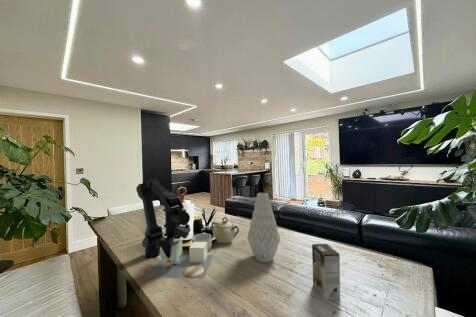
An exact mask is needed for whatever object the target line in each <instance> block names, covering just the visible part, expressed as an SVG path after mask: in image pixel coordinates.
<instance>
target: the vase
mask: <svg viewBox="0 0 476 317" xmlns="http://www.w3.org/2000/svg"><path fill="white" fill-rule="evenodd" d="M246 239H247V241H248V243H249V246H250V247H249V248H250V250H251V252H252V254H253V255H254V257H255V260H256V261H257V262H261V263H269V262H271V261H273V259H274V257H275V256H276V254H277V251H278V247H279V244H280V242H281V236H280V233H279V230H278V224H277V222H276V219H275V214H274V211H273V207H272V203H271V200H270V196H269V193H266V192H260V193H259V192H258V193H257V194H256V199H255V203H254V208H253V211H252V217H251V220H250V226H249V229H248V233H247V238H246Z"/></svg>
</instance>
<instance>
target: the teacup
mask: <svg viewBox="0 0 476 317" xmlns="http://www.w3.org/2000/svg"><path fill="white" fill-rule="evenodd" d="M193 242H207V252H209V250H210V249H211V248H212V234H210V233H206V232H202V233H197V234H195V235H193V236H192V237H191V244H192V243H193Z"/></svg>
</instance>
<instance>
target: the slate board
mask: <svg viewBox="0 0 476 317" xmlns="http://www.w3.org/2000/svg"><path fill="white" fill-rule="evenodd" d="M214 256H215V254H207V257H206V259H205V261H204V262H190V255H189V254H181V255H180V256H179V262H178V264H173V260H171V262H172V264H171V266H170V267H166V266H165V262H166V261H167V260H161V259H160V260H159V261H158V262H157V263H156V264H155V265H154V267H152V269H150V271H149V272H148V273H147V274H146V275H145V276H144V278H165V279H166V278H167V279H168V278H171V279H199V280H200V279H203V280H204V279H205V278H206V275H207V273H208V270H209V268H210V265H211V263H212V261H213V260H214ZM190 266H201V267H203V268H204V272H203V273H202V274H201V275H199V276H197V277H186V276H184V274H183V271H184V270H185V269H186V268H188V267H190Z"/></svg>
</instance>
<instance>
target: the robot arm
mask: <svg viewBox="0 0 476 317" xmlns="http://www.w3.org/2000/svg"><path fill="white" fill-rule="evenodd" d="M136 193H137V196H138V198H140V200H141V201H142V205H143V211H144V216H145V217H144V218H145V222H146V228H145V232H144V238H143V239H142V241H141V245H142V247H143V248H145V249H144V252H145V255H144V259H156V258H157V257H158V256H159V255H161V248H162V250H163V251H164V253H165V254H166V256H167V258H170V255H171V247H172V246H173V245H174V243H173V242H174V239H181V238H182V239H187V238H188V237H189V234H190V232H191V226H190V224H189V222H190V219H191V216H190V214H189V213H188V212H187V209H185V207H184V203H183V201H182V200H181V198H180V196H179V194H177V193H175V192H172V191H169V190H168V189H167V188H165V187H164V186H163V185H162V184H161V183H160V182H159V180H157V179H150V180H147V181H145V182H142V183H139V184H138V185H137V186H136ZM154 194H156V196H157V197H159V199H161V200H160V203H161V205H162V206H163V209H162V211H163V212H164V216H165V219H164V222H165V224H163V228H165V229H164V230H165V231H164V232H163V228H162V226H160V225H159V224H158V223H157V216H156V213H155V206H154V203H153V202H154V201H153V196H154Z"/></svg>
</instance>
